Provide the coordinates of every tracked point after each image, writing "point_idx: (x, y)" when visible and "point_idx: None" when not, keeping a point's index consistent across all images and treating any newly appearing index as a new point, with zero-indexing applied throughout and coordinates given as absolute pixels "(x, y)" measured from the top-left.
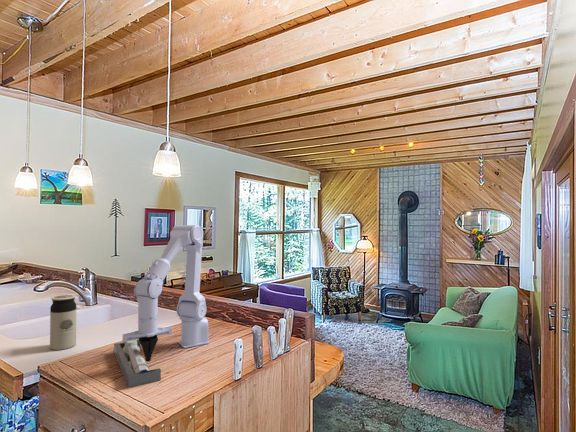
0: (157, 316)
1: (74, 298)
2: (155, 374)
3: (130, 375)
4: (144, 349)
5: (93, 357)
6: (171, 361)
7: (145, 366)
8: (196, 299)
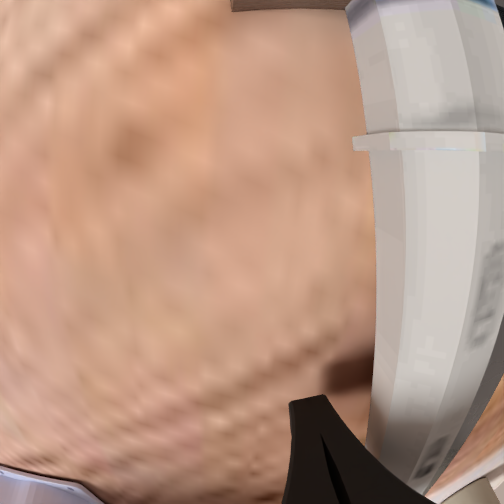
0: None
1: None
2: None
3: None
4: (398, 482)
5: (457, 459)
6: (112, 385)
7: (453, 83)
8: None
